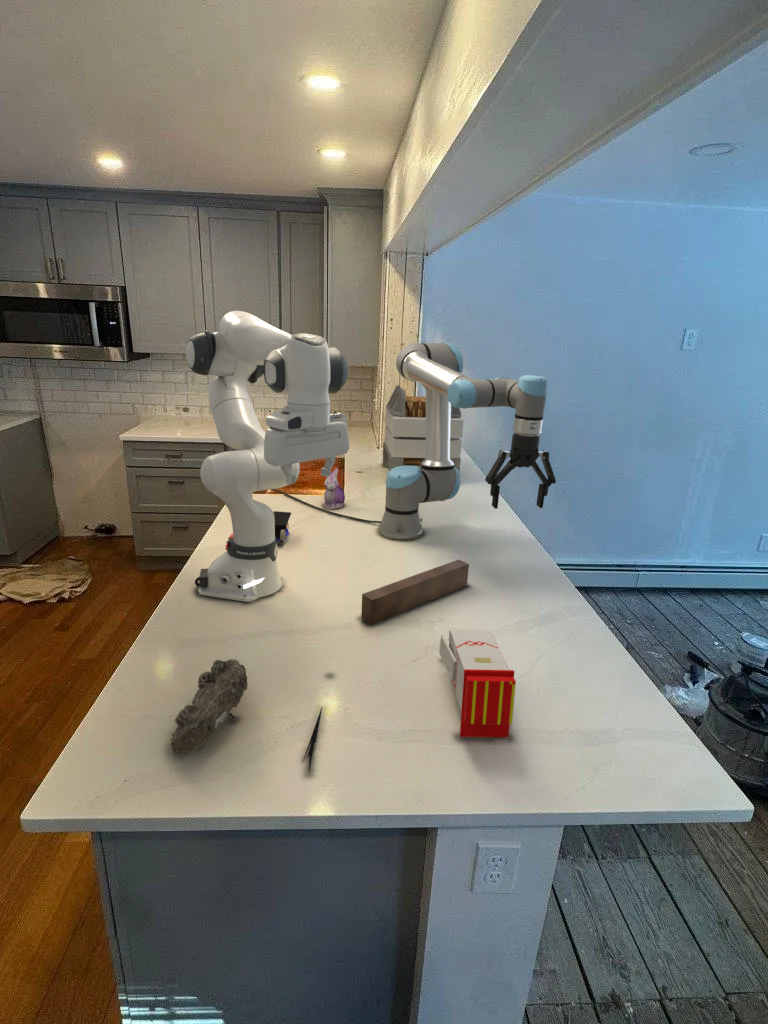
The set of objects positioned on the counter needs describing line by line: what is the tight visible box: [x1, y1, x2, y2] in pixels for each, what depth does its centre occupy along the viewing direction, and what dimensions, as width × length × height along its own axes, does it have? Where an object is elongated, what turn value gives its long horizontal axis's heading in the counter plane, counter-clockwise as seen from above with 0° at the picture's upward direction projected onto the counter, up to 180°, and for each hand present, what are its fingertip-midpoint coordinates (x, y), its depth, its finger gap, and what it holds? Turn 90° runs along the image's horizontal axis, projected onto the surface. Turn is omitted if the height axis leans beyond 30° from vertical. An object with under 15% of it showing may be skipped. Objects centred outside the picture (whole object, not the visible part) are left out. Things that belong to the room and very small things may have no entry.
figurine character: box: [273, 510, 292, 545], centre depth 190 cm, size 7×8×15 cm
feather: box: [301, 673, 332, 771], centre depth 108 cm, size 2×28×2 cm
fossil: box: [170, 658, 249, 753], centre depth 106 cm, size 22×10×15 cm
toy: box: [438, 628, 517, 738], centre depth 117 cm, size 12×13×30 cm
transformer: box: [381, 384, 464, 475], centre depth 268 cm, size 34×33×41 cm
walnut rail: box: [360, 559, 470, 626], centre depth 153 cm, size 36×4×7 cm, turn 131°
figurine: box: [323, 467, 346, 510], centre depth 222 cm, size 9×10×15 cm
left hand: (308, 479), depth 123 cm, fingers open, 8 cm apart
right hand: (517, 506), depth 163 cm, fingers open, 13 cm apart
